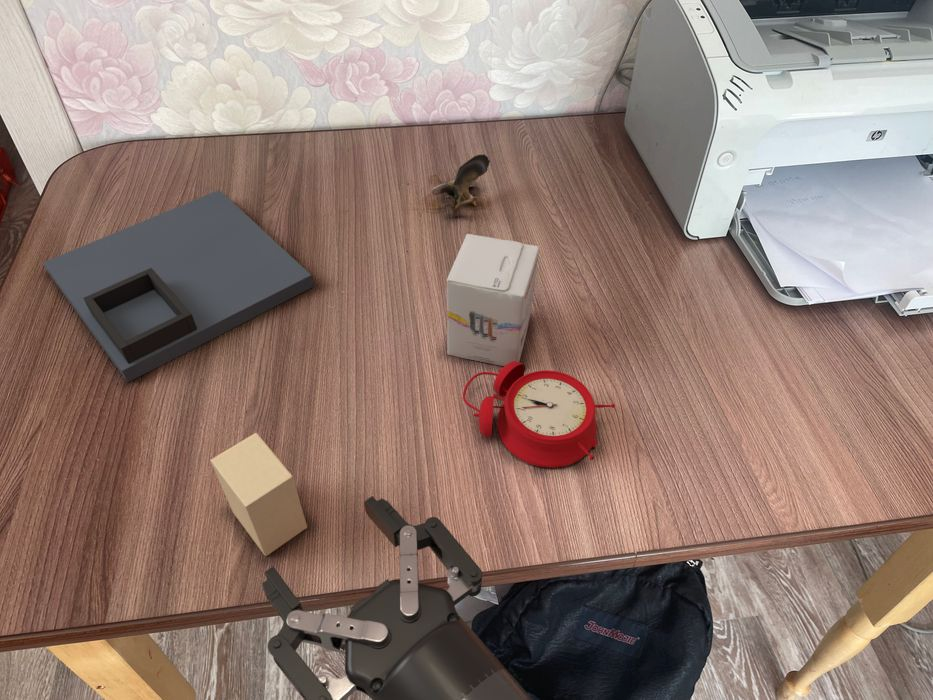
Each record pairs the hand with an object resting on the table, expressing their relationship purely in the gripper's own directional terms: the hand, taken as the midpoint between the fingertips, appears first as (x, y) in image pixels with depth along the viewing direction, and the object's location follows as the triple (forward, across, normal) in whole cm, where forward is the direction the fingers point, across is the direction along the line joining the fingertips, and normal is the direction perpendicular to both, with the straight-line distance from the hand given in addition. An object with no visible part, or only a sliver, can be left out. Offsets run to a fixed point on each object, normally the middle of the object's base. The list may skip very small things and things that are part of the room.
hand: (320, 537), depth 52 cm
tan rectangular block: (+11, 0, +13) cm, 17 cm away
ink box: (+15, -32, +13) cm, 38 cm away
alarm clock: (+3, -27, +13) cm, 30 cm away
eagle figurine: (+37, -47, +13) cm, 61 cm away
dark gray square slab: (+47, -9, +13) cm, 50 cm away
